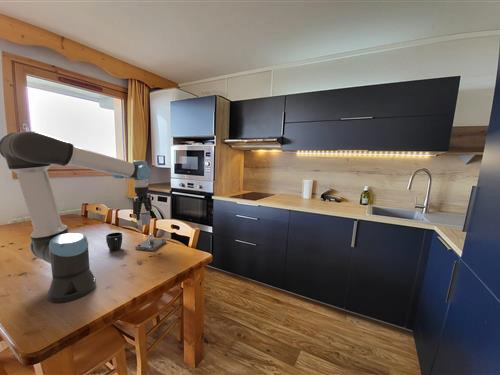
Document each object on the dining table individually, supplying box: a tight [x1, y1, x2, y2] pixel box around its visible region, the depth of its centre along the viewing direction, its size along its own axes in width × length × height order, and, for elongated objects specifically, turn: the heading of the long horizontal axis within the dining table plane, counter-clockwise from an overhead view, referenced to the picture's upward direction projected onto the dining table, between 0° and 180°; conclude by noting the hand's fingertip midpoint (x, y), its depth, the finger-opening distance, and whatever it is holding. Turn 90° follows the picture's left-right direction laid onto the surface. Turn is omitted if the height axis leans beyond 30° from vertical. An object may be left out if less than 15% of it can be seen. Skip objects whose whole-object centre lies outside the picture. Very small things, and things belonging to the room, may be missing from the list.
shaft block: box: [135, 232, 167, 252], centre depth 132 cm, size 14×12×8 cm
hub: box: [140, 211, 151, 226], centre depth 128 cm, size 7×7×6 cm
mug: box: [105, 231, 123, 253], centre depth 124 cm, size 8×12×10 cm
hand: (143, 222), depth 128 cm, fingers closed on hub, 7 cm apart
